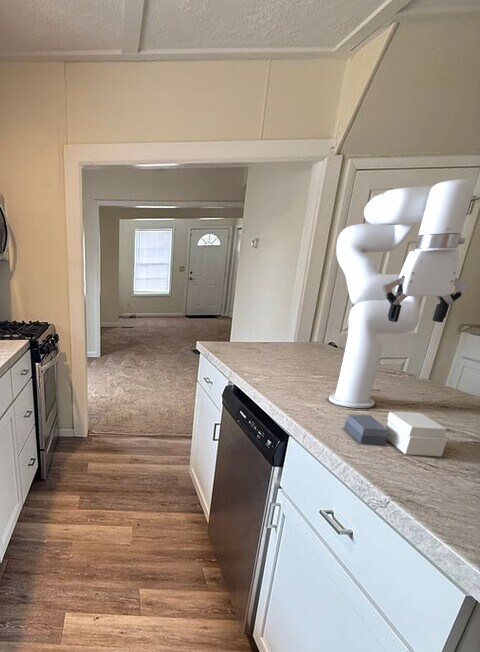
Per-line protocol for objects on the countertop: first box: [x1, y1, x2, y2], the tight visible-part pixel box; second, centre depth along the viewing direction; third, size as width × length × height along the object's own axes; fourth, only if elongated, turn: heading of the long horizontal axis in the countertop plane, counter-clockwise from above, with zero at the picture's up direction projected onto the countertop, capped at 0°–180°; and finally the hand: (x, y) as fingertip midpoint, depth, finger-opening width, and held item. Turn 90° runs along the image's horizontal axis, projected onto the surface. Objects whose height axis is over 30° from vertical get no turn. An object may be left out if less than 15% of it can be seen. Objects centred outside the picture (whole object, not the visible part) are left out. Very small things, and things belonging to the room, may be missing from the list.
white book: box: [386, 411, 447, 438], centre depth 97 cm, size 11×7×2 cm, turn 169°
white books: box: [385, 420, 448, 457], centre depth 97 cm, size 11×8×4 cm
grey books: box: [343, 414, 388, 446], centre depth 103 cm, size 11×6×4 cm, turn 169°
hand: (414, 321), depth 97 cm, fingers open, 9 cm apart
